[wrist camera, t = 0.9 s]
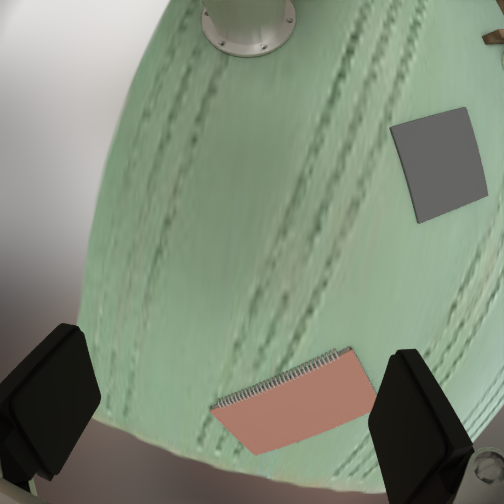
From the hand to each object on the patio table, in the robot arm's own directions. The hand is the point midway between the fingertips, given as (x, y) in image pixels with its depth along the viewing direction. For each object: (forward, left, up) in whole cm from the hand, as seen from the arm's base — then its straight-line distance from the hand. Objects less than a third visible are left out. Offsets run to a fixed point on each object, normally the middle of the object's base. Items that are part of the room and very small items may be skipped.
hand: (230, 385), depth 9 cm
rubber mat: (+3, +27, -35) cm, 44 cm away
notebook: (+35, -7, -35) cm, 50 cm away
